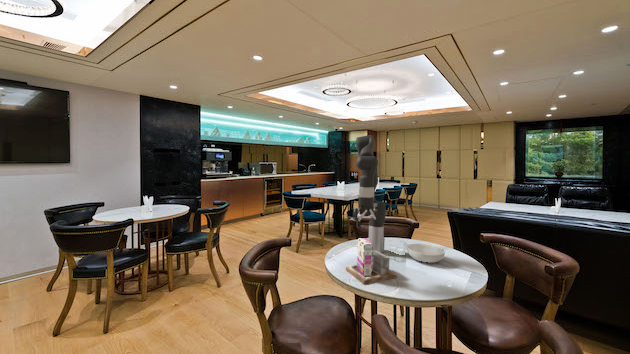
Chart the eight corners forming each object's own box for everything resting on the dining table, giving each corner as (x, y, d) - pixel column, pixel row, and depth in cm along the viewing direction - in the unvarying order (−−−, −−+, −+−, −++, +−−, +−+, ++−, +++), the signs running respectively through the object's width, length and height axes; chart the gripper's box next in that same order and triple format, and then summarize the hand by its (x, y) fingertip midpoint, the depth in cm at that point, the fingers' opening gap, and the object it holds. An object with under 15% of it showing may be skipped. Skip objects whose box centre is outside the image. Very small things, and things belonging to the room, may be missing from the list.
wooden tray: (376, 264, 149) (377, 248, 148) (396, 277, 134) (397, 259, 133) (345, 270, 141) (346, 252, 141) (363, 284, 126) (363, 265, 125)
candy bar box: (372, 276, 131) (373, 244, 129) (362, 277, 130) (363, 244, 129) (365, 267, 142) (366, 237, 141) (356, 267, 141) (357, 237, 140)
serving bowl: (440, 255, 165) (441, 244, 164) (447, 269, 145) (448, 256, 144) (405, 251, 170) (406, 241, 170) (407, 264, 150) (408, 252, 150)
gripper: (373, 194, 139) (372, 224, 140) (350, 195, 133) (349, 226, 135) (382, 195, 132) (381, 227, 133) (358, 197, 126) (357, 230, 128)
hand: (365, 227), depth 134 cm, fingers open, 8 cm apart
